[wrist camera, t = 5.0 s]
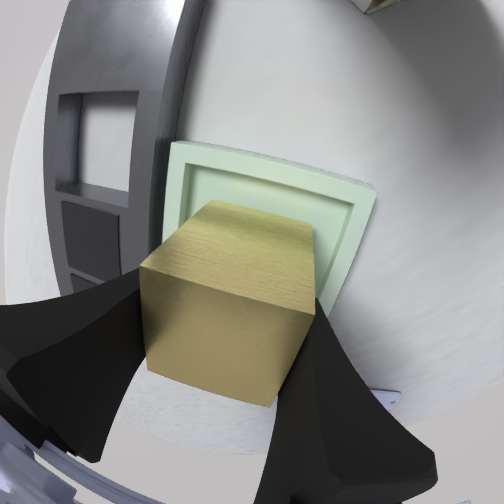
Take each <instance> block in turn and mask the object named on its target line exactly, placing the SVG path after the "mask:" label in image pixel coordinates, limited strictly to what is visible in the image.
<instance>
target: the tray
mask: <svg viewBox="0 0 504 504" xmlns="http://www.w3.org/2000/svg"><path fill="white" fill-rule="evenodd" d="M377 193H378V192H377V191H376V190H375V189H374V188H373V187H372V186H371V185H370V184H367V183H364V182H361V181H358V180H355V179H351V178H348V177H345V176H342V175H339V174H335V173H332V172H329V171H325V170H322V169H318V168H314V167H311V166H307V165H303V164H300V163H296V162H292V161H288V160H284V159H280V158H276V157H271V156H267V155H263V154H258V153H254V152H249V151H244V150H239V149H234V148H229V147H224V146H218V145H213V144H207V143H201V142H195V141H188V140H181V141H176V142H171V149H170V157H169V166H168V175H167V184H166V195H165V207H164V221H163V239H162V243H163V242H164V241H165V240H166V239H167V238H169V237H170V236H171V235H172V234H173V233H174V232H175V231H176V230H177V229H178V228H179V227H181V226H182V225H183V224H184V223H185V222H186V221H187V220H188V219H189V218H191V217H192V216H193V215H194V214H195V213H196V212H197V211H198V210H200V209H201V208H202V207H203V206H204V205H205V204H206V203H208V202H209V201H210V200H211V199H215V200H220V201H224V202H228V203H232V204H237V205H241V206H245V207H249V208H253V209H257V210H261V211H265V212H269V213H273V214H277V215H281V216H284V217H288V218H292V219H296V220H299V221H303V222H307V223H310V224H312V234H313V253H314V280H315V297H316V298H318V300H319V302H320V304H321V306H322V308H323V310H324V313H325V315H326V317H327V318H328V316H329V314H330V312H331V309H332V307H333V305H334V303H335V301H336V298H337V296H338V294H339V292H340V289H341V287H342V285H343V283H344V280H345V278H346V276H347V273H348V271H349V268H350V266H351V263H352V261H353V259H354V256H355V254H356V251H357V248H358V246H359V243H360V241H361V238H362V235H363V233H364V230H365V227H366V225H367V222H368V219H369V216H370V213H371V210H372V208H373V205H374V202H375V199H376V196H377Z"/></svg>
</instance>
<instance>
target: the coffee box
mask: <svg viewBox="0 0 504 504" xmlns="http://www.w3.org/2000/svg"><path fill="white" fill-rule="evenodd" d="M351 1H352V2H353V3H354V4H355V5H356V6H357V7H358V8H359V9H360V10H361V11H362V12H363V13H366V14H370V13H373V12H375V11H378V10H380V9H382V8H384V7H386V6H389V5H391V4H393V3H396V2H398V1H401V0H351Z"/></svg>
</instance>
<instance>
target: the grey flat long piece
mask: <svg viewBox="0 0 504 504" xmlns="http://www.w3.org/2000/svg"><path fill="white" fill-rule="evenodd" d="M204 2H205V0H71V1H70V2H69V4H68V7H67V11H66V13H65V16H64V20H63V23H62V26H61V30H60V33H59V37H58V41H57V45H56V49H55V54H54V58H53V63H52V68H51V74H50V80H49V86H48V94H47V102H46V112H45V124H44V146H43V171H44V194H45V207H46V217H47V225H48V233H49V240H50V246H51V252H52V258H53V263H54V268H55V273H56V278H57V282H58V286H59V291H60V295H61V296H66V295H69V294H73V293H76V292H79V291H83V290H86V289H89V288H91V287H94V286H97V285H99V284H102V283H104V282H107V281H109V280H112V279H114V278H117V277H119V276H121V275H124V274H126V273H128V272H130V271H132V270H135V269H137V268H139V265H140V264H141V263H142V262H143V261H144V260H145V259H146V258H147V257H148V256H149V255H150V254H152V253H153V252H154V251H155V250H156V249H157V248H158V247H159V246H160V245H161V244H162V239H163V221H164V207H165V195H166V184H167V175H168V166H169V157H170V149H171V142H175V136H176V129H177V122H178V116H179V110H180V105H181V99H182V94H183V88H184V83H185V78H186V73H187V69H188V64H189V60H190V55H191V51H192V47H193V43H194V39H195V35H196V31H197V27H198V23H199V20H200V16H201V12H202V9H203V6H204ZM101 92H139V95H138V101H137V108H136V115H135V122H134V130H133V140H132V150H131V162H130V177H129V192H125V191H120V190H115V189H111V188H106V187H101V186H96V185H91V184H86V183H81V182H77V156H78V136H79V123H80V113H81V104H82V96H83V94H85V93H101Z"/></svg>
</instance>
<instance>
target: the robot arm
mask: <svg viewBox="0 0 504 504" xmlns="http://www.w3.org/2000/svg"><path fill="white" fill-rule="evenodd" d="M145 357H146V353H145V344H144V335H143V324H142V311H141V296H140V273H139V268H137V269H135V270H132V271H130V272H128V273H126V274H124V275H121V276H119V277H117V278H114V279H112V280H109V281H107V282H104V283H102V284H99V285H97V286H94V287H91V288H89V289H86V290H83V291H79V292H76V293H73V294H69V295H66V296H61V297H57V298H53V299H48V300H44V301H38V302H32V303H24V304H15V305H0V504H82V503H80V502H79V501H77V500H75V499H74V496H75V494H76V492H77V490H76V489H75V488H74V487H72V486H71V485H69V484H68V483H67V482H65V481H64V480H62V479H61V478H59V477H58V476H56V475H55V474H54V473H52V472H51V471H49V470H47V469H46V468H45V467H44V466H42V465H41V464H39V463H38V462H37V461H36V460H35V458H34V453H33V451H34V452H35V453H36V454H38V455H39V456H40V457H42V458H43V459H44V460H45V461H47V462H48V463H49V464H51V465H52V466H54V467H55V468H56V469H58V470H59V471H61V472H62V473H64V474H65V475H67V476H68V477H70V478H71V479H73V480H75V481H76V482H78V483H79V484H81V485H82V486H84V487H86V488H87V489H89V490H91V491H92V492H94V493H96V494H98V495H100V496H102V497H103V498H105V499H107V500H109V501H111V502H113V503H115V504H165V503H162V502H159V501H156V500H154V499H151V498H149V497H146V496H144V495H142V494H139V493H137V492H135V491H132V490H130V489H128V488H126V487H124V486H122V485H119V484H118V483H116V482H114V481H112V480H110V479H108V478H106V477H104V476H102V475H100V474H98V473H97V472H95V471H93V470H91V469H90V468H88V467H86V466H85V465H83V464H81V463H80V462H78V461H76V460H75V459H73V458H72V457H70V456H69V455H67V454H66V453H67V451H68V452H69V453H71V454H72V455H74V456H80V457H81V458H83V459H85V460H86V461H88V462H90V463H96V462H99V461H100V459H101V455H102V452H103V449H104V446H105V443H106V440H107V436H108V434H109V431H110V429H111V426H112V423H113V421H114V418H115V416H116V413H117V411H118V408H119V406H120V404H121V402H122V399H123V397H124V395H125V393H126V391H127V389H128V386H129V384H130V382H131V380H132V378H133V376H134V374H135V373H136V371H137V369H138V368H139V366H140V364H141V363H142V361H143V360H144V358H145ZM401 398H402V395H401V393H399V392H389V391H379V390H370V389H369V388H368V387H367V385H366V384H365V383H364V381H363V380H362V378H361V377H360V376H359V374H358V373H357V371H356V370H355V368H354V367H353V365H352V364H351V362H350V361H349V359H348V357H347V355H346V354H345V352H344V350H343V349H342V347H341V345H340V343H339V341H338V339H337V337H336V335H335V333H334V331H333V329H332V327H331V325H330V323H329V321H328V319H327V317H326V315H325V313H324V310H323V308H322V306H321V304H320V302H319V300H318V298H316V297H315V316H314V319H313V321H312V323H311V325H310V328H309V330H308V332H307V334H306V336H305V339H304V341H303V343H302V345H301V347H300V349H299V351H298V353H297V356H296V358H295V360H294V362H293V364H292V366H291V368H290V370H289V372H288V374H287V376H286V378H285V380H284V382H283V384H282V386H281V388H280V390H279V391H278V401H277V411H276V419H275V424H274V429H273V433H272V438H271V442H270V447H269V451H268V455H267V459H266V463H265V467H264V470H263V474H262V477H261V481H260V485H259V488H258V491H257V494H256V498H255V501H254V503H253V504H402V502H403V501H406V500H408V499H410V498H413V497H415V496H417V495H419V494H421V493H424V492H425V491H427V490H429V489H431V488H432V487H433V486H434V485H435V484H436V483H437V481H438V476H437V468H436V461H435V455H434V452H433V451H432V450H431V449H429V448H428V447H427V446H426V445H424V444H423V443H422V442H420V441H419V440H418V439H417V438H416V437H414V436H413V435H412V434H411V433H410V432H409V431H407V430H406V429H405V428H404V427H403V426H402V425H401V424H400V423H399V422H398V421H397V420H396V419H395V418H394V417H393V416H392V415H391V414H390V413H389V411H390V410H391V409H392V408H393V407H394V406H395V405H396V404H397V403H398V402H399V401H400V400H401ZM31 449H32V450H33V451H32V450H31ZM459 504H471V501H470V500H467V501H464V502H462V503H459Z"/></svg>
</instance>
